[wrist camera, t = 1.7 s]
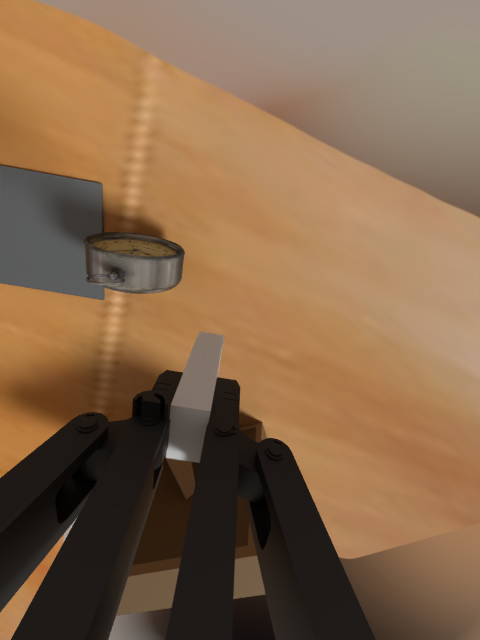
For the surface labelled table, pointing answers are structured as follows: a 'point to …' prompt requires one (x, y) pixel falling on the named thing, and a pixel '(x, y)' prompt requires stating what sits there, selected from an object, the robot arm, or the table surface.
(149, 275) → the alarm clock
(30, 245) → the mat
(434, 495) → the table surface
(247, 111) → the table surface
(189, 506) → the photo frame
